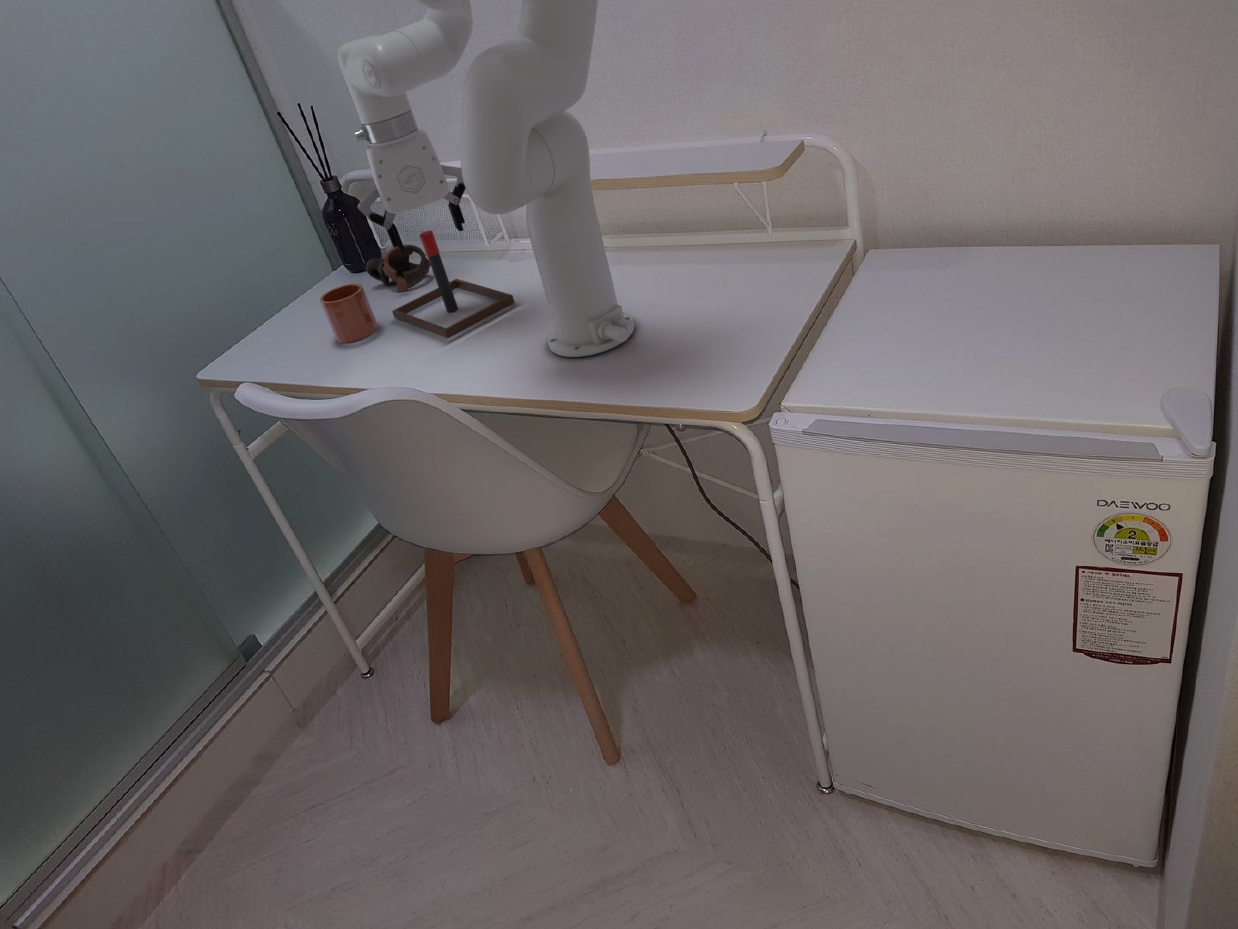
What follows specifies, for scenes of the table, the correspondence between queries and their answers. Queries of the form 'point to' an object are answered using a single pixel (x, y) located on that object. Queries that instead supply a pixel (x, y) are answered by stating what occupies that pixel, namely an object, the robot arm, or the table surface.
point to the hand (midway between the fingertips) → (430, 239)
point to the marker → (438, 270)
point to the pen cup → (349, 313)
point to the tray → (463, 324)
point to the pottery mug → (399, 268)
